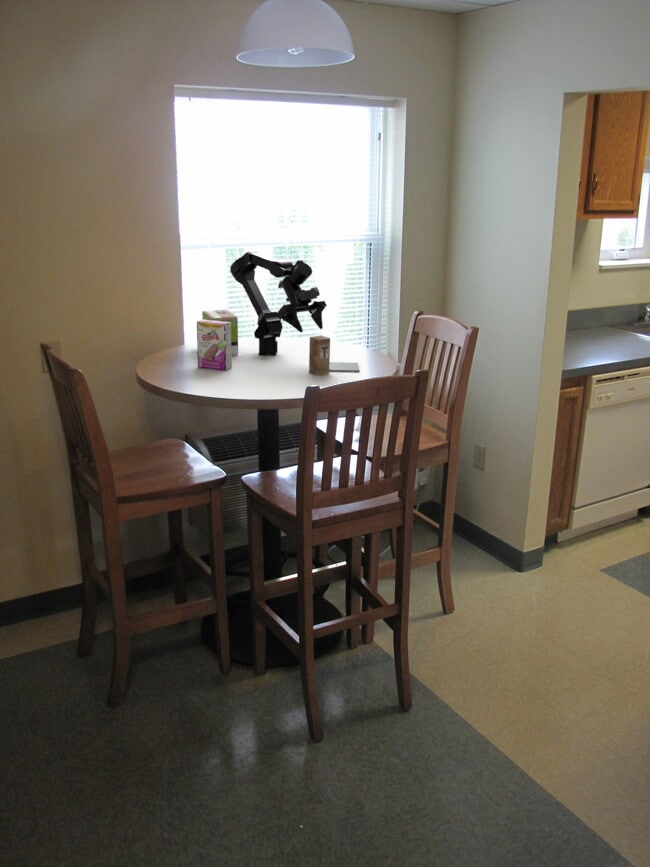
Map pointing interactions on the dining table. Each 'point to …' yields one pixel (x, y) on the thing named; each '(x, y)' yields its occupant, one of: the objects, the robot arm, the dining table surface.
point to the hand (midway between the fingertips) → (311, 330)
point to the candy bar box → (214, 344)
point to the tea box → (225, 317)
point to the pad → (343, 367)
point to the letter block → (319, 355)
